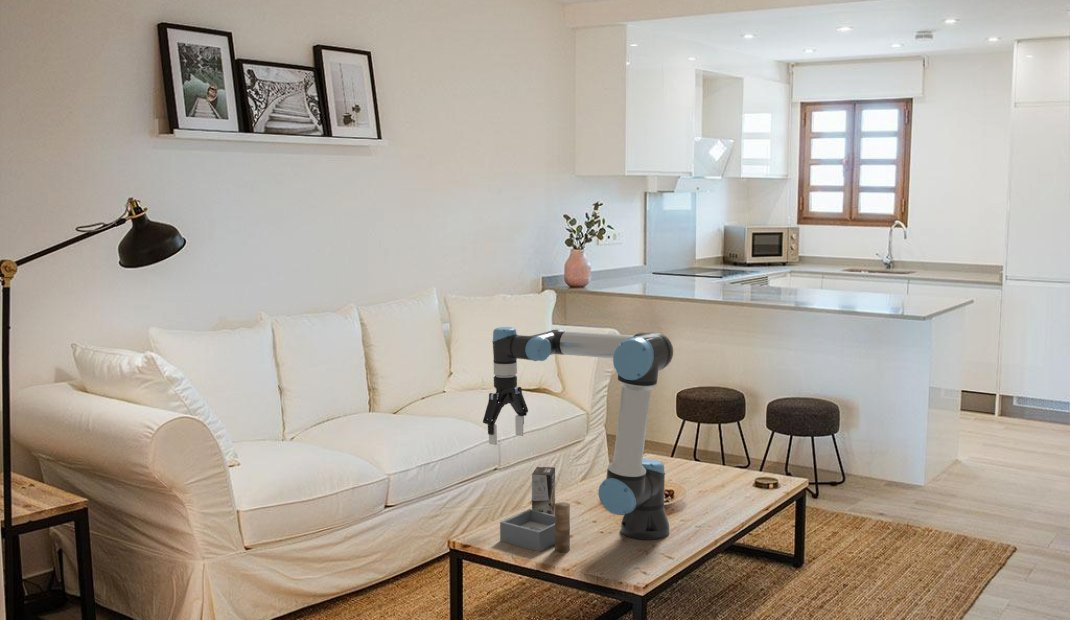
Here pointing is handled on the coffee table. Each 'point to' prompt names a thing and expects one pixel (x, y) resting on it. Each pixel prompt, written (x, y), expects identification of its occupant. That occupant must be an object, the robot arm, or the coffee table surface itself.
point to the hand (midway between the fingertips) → (506, 439)
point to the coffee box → (543, 490)
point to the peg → (562, 527)
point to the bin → (529, 530)
